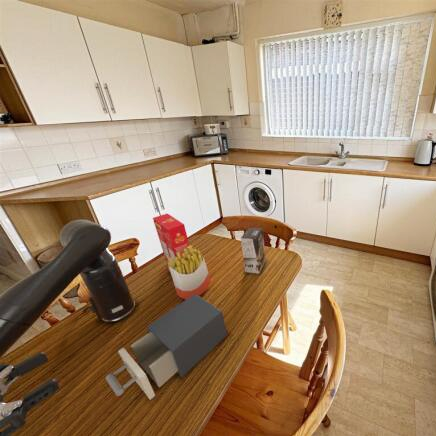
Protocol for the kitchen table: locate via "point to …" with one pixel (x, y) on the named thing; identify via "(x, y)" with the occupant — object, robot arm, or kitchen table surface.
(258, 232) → the coffee box
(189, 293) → the french fries container
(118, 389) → the drawer
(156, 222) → the food packaging
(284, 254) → the kitchen table surface
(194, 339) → the cabinet
